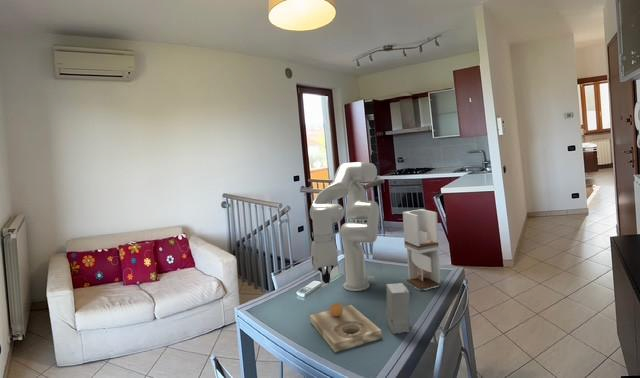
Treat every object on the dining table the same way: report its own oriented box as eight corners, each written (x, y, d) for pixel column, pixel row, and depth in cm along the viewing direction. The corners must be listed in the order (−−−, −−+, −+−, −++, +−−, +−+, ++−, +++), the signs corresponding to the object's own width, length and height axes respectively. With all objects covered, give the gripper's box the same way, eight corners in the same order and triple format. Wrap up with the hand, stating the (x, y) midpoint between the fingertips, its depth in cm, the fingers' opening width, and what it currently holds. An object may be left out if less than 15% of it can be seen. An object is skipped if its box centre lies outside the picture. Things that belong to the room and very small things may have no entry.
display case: (406, 283, 175) (402, 212, 171) (425, 279, 178) (422, 209, 174) (420, 291, 164) (416, 215, 160) (440, 287, 168) (436, 212, 164)
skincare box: (386, 323, 138) (383, 283, 136) (404, 321, 138) (402, 281, 137) (392, 335, 130) (390, 292, 128) (412, 332, 130) (409, 290, 128)
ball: (340, 311, 144) (339, 299, 144) (345, 316, 140) (344, 304, 139) (328, 314, 143) (327, 302, 142) (333, 320, 138) (332, 307, 137)
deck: (351, 311, 150) (351, 304, 150) (381, 338, 128) (381, 330, 128) (310, 322, 144) (310, 315, 144) (335, 352, 122) (334, 343, 121)
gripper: (336, 233, 151) (339, 276, 153) (302, 238, 146) (305, 283, 148) (344, 236, 144) (347, 281, 146) (308, 242, 139) (312, 289, 141)
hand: (326, 282), depth 147 cm, fingers closed
